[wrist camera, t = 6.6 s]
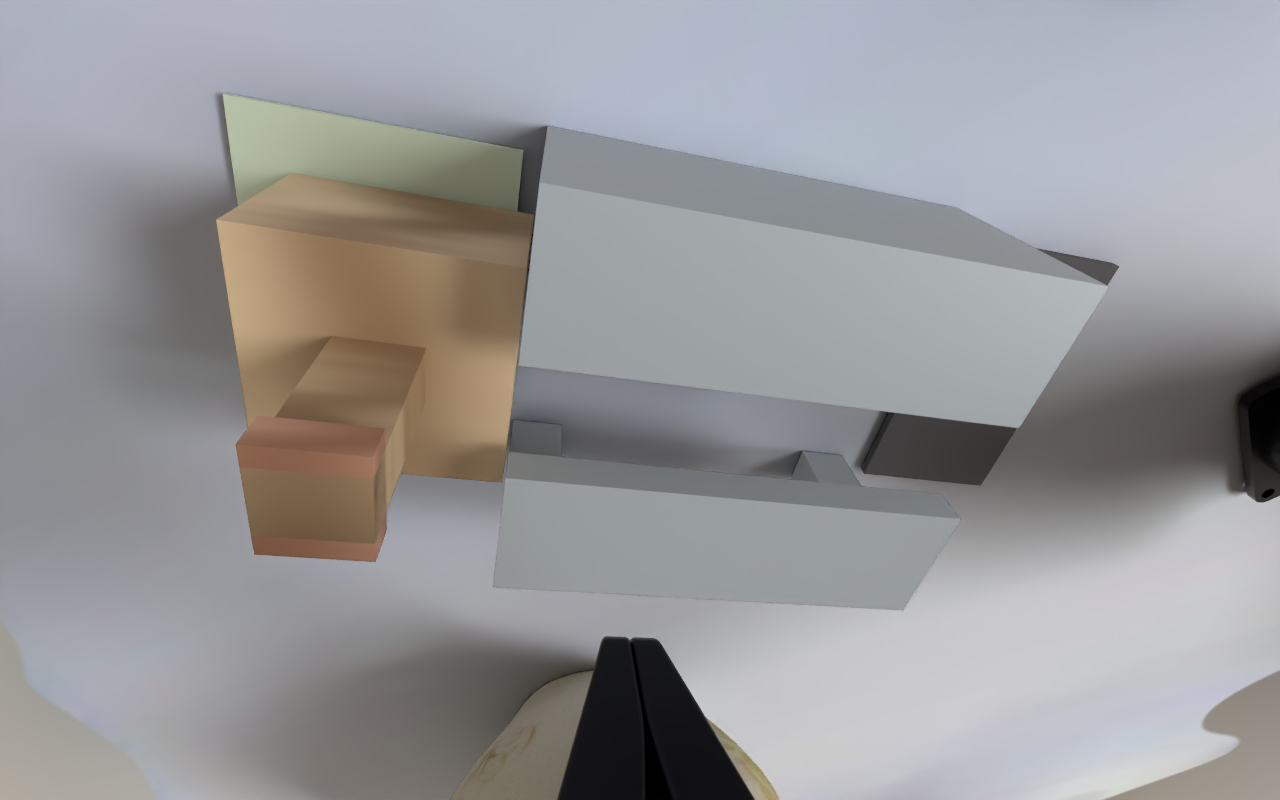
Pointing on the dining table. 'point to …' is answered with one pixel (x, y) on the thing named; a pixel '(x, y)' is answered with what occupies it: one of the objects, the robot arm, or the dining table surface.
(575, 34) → the dining table surface
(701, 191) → the tunnel
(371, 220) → the tan t-shaped block
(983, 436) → the mat
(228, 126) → the pad
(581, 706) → the sugar bowl
